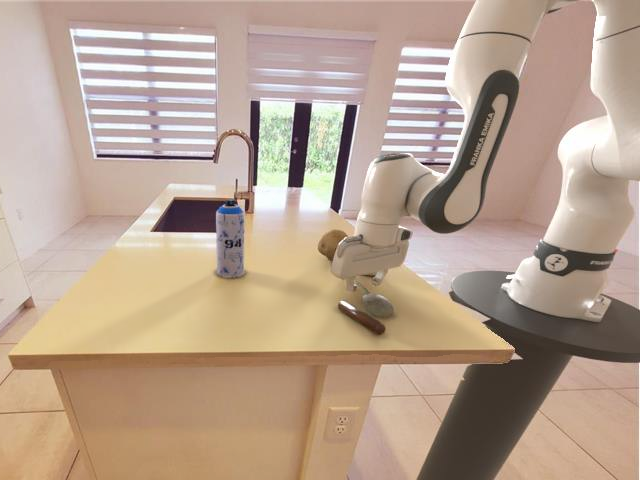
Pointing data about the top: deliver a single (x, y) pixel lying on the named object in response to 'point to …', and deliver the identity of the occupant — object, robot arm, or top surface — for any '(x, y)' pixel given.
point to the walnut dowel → (362, 317)
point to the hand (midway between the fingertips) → (363, 287)
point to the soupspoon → (376, 303)
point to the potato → (331, 243)
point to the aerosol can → (230, 240)
